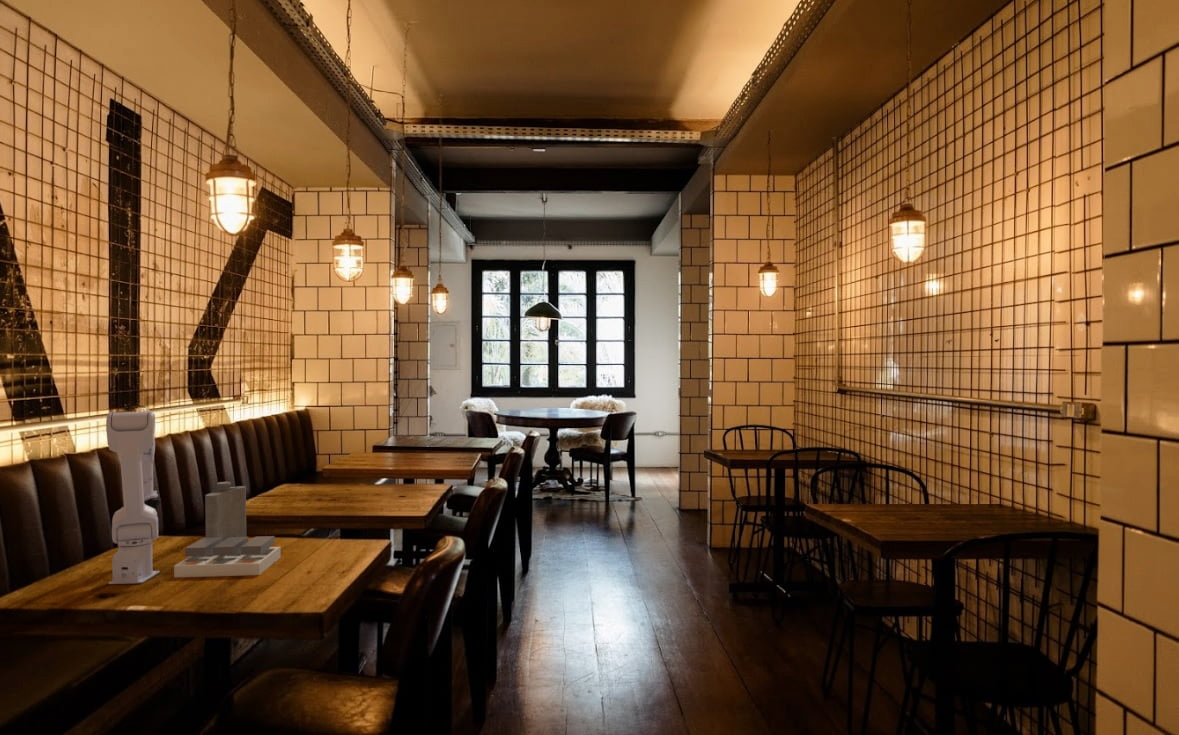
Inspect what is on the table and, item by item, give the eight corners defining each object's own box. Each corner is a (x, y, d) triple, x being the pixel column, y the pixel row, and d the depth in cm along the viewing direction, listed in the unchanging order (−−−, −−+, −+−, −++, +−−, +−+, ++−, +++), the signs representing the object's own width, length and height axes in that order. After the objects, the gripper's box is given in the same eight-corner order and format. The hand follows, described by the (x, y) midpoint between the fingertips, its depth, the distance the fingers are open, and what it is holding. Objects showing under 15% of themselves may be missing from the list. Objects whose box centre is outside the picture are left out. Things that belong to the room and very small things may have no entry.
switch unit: (259, 574, 193) (259, 562, 193) (174, 577, 191) (174, 564, 191) (280, 557, 210) (280, 546, 210) (202, 559, 208) (202, 548, 208)
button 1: (205, 555, 195) (205, 547, 195) (185, 556, 195) (185, 548, 195) (222, 545, 206) (221, 537, 206) (203, 545, 206) (203, 537, 206)
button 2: (260, 554, 196) (260, 546, 196) (240, 554, 196) (240, 546, 196) (274, 544, 207) (274, 536, 207) (255, 544, 207) (255, 536, 207)
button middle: (233, 555, 196) (232, 546, 196) (213, 555, 195) (213, 547, 195) (248, 544, 207) (248, 536, 207) (229, 545, 206) (229, 537, 206)
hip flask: (213, 558, 209) (212, 487, 209) (200, 557, 210) (199, 486, 210) (248, 544, 225) (247, 477, 225) (236, 543, 226) (235, 477, 225)
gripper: (144, 483, 198) (145, 534, 198) (168, 474, 212) (168, 522, 212) (115, 483, 197) (116, 535, 197) (141, 475, 211) (142, 523, 211)
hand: (141, 528), depth 204 cm, fingers open, 7 cm apart
